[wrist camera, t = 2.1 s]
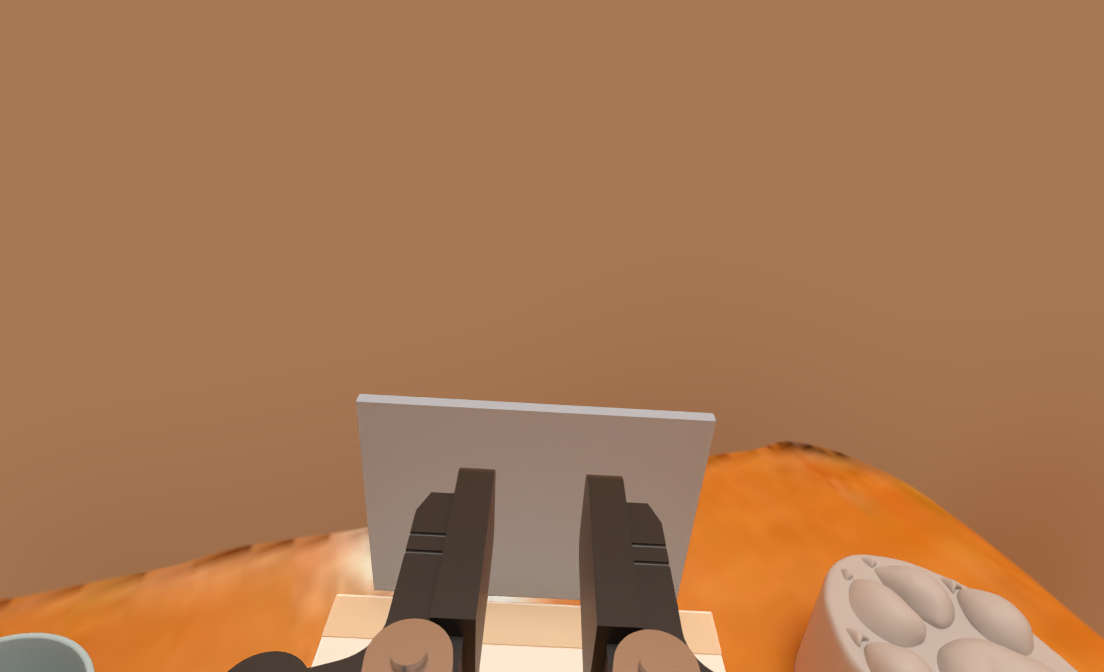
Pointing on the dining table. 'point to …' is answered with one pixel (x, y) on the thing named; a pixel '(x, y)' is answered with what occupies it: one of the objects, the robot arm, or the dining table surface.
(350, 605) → the carton
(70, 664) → the cup
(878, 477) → the dining table surface
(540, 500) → the flap
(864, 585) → the paw print tray
